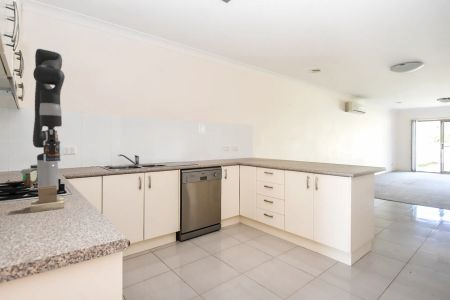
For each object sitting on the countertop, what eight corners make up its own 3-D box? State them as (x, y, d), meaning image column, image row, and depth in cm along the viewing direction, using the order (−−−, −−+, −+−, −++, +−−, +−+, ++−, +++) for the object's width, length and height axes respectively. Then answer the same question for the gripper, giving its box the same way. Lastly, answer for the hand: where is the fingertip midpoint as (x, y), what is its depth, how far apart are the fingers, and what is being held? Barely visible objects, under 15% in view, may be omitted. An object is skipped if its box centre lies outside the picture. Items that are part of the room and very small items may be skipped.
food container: (26, 183, 155) (25, 168, 155) (37, 183, 158) (37, 167, 157) (17, 187, 144) (17, 170, 143) (30, 186, 146) (29, 170, 146)
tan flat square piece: (32, 206, 102) (32, 200, 102) (63, 202, 108) (63, 197, 108) (30, 212, 94) (30, 205, 94) (64, 208, 100) (64, 201, 100)
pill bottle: (43, 162, 99) (42, 134, 99) (43, 161, 104) (42, 135, 103) (61, 161, 102) (60, 135, 102) (60, 160, 107) (59, 135, 107)
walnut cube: (39, 200, 102) (39, 186, 101) (56, 198, 105) (56, 185, 105) (38, 203, 97) (38, 189, 96) (56, 201, 100) (56, 187, 100)
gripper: (61, 113, 99) (63, 154, 99) (61, 117, 110) (62, 153, 111) (38, 112, 94) (40, 155, 95) (40, 116, 106) (41, 154, 107)
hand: (52, 154), depth 103 cm, fingers closed on pill bottle, 6 cm apart
